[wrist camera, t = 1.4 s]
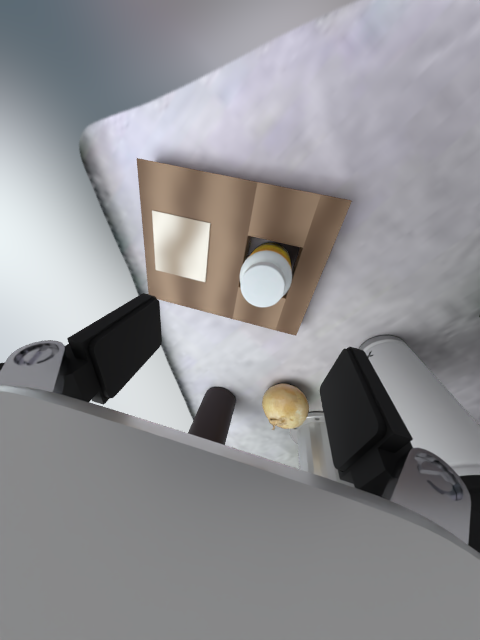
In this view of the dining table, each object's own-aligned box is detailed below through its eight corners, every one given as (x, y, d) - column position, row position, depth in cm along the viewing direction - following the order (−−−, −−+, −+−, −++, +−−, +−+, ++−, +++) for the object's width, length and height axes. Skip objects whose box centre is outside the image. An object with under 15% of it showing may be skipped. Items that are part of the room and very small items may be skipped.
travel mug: (347, 345, 29) (438, 541, 12) (398, 327, 26) (617, 554, 9) (363, 373, 30) (460, 577, 14) (412, 359, 28) (612, 597, 11)
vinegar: (240, 406, 41) (208, 543, 24) (213, 408, 44) (167, 534, 27) (229, 384, 38) (185, 522, 21) (201, 387, 41) (140, 513, 24)
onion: (289, 370, 34) (290, 405, 28) (315, 397, 35) (321, 435, 29) (255, 387, 37) (250, 420, 31) (281, 410, 39) (280, 446, 33)
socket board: (343, 201, 20) (352, 200, 18) (294, 324, 29) (295, 336, 26) (153, 164, 22) (135, 157, 19) (160, 289, 31) (148, 297, 28)
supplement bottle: (289, 282, 26) (291, 316, 18) (250, 282, 27) (235, 314, 19) (292, 240, 23) (295, 256, 15) (248, 242, 24) (230, 258, 16)
